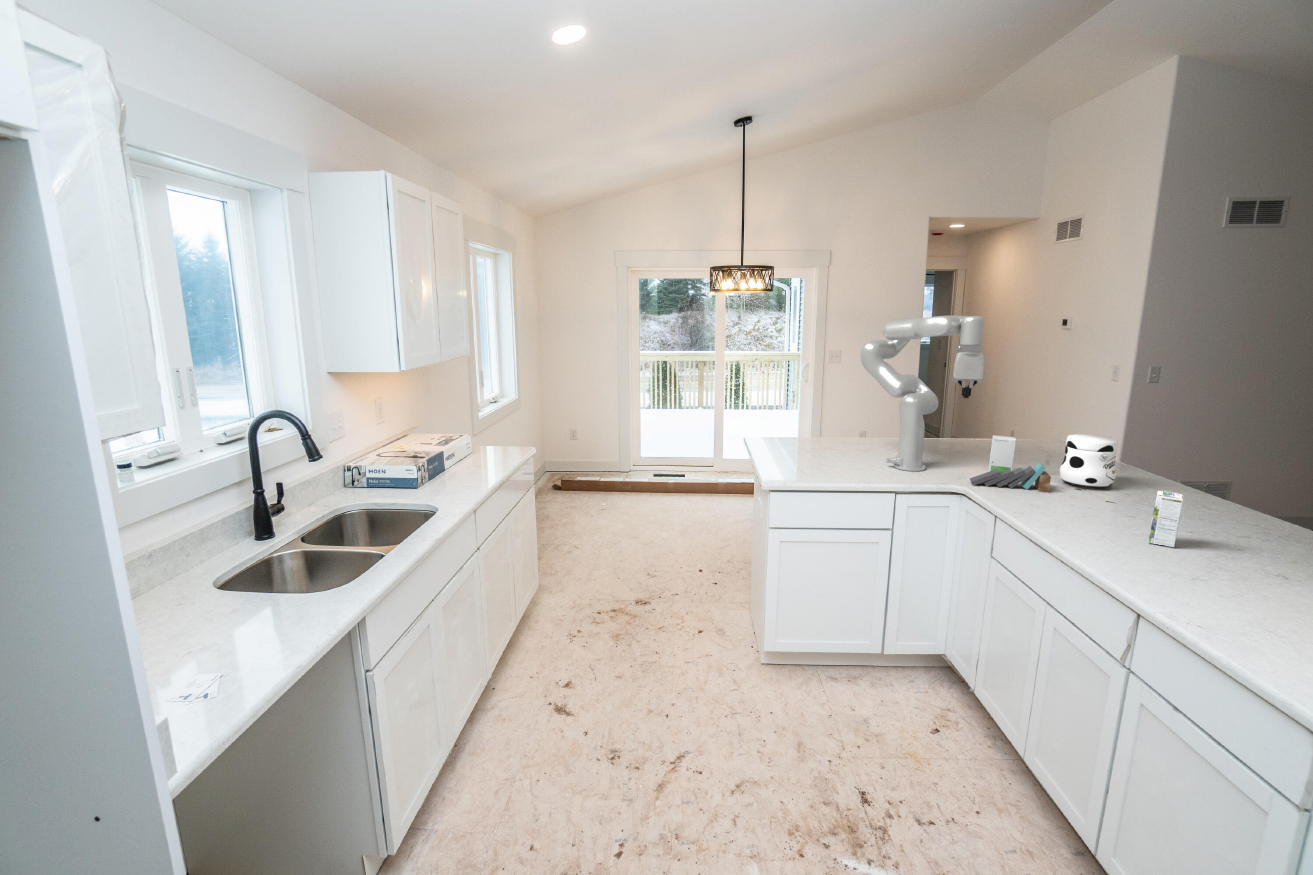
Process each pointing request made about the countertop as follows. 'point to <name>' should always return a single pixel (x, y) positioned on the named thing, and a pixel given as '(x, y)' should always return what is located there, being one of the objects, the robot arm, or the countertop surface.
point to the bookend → (1043, 482)
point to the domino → (1033, 476)
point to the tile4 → (1022, 477)
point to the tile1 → (985, 477)
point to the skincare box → (1002, 453)
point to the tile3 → (1016, 474)
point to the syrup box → (1166, 518)
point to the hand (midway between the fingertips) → (965, 397)
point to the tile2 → (1000, 477)
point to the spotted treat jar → (1089, 461)
